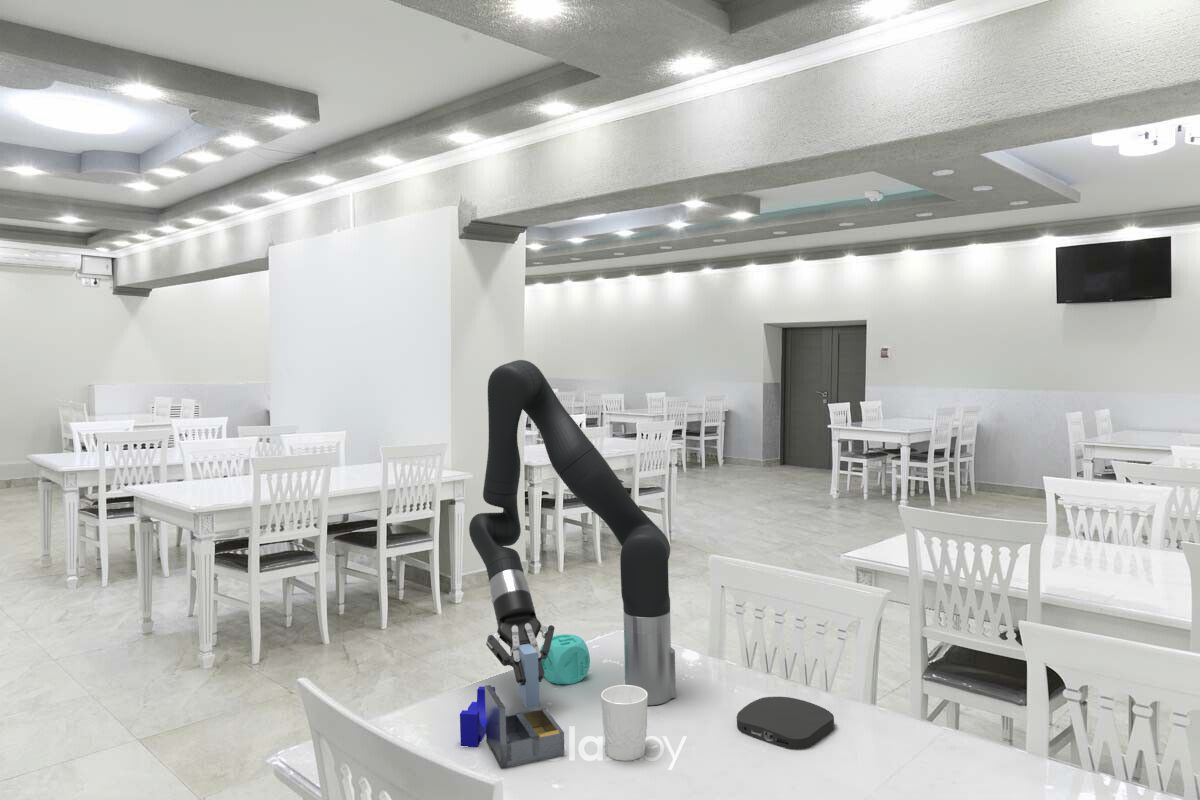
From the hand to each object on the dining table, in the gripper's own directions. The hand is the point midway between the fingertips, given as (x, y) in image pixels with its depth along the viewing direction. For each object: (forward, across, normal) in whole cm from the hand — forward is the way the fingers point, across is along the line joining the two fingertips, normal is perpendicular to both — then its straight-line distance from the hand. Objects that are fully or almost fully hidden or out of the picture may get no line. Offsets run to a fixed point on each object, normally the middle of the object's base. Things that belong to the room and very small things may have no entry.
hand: (531, 681), depth 148 cm
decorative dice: (-8, +12, +20) cm, 24 cm away
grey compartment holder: (+11, -4, 0) cm, 12 cm away
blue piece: (+4, -10, +7) cm, 14 cm away
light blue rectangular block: (+2, 0, +5) cm, 5 cm away
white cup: (+17, +12, -5) cm, 21 cm away
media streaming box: (+20, +42, -6) cm, 47 cm away
